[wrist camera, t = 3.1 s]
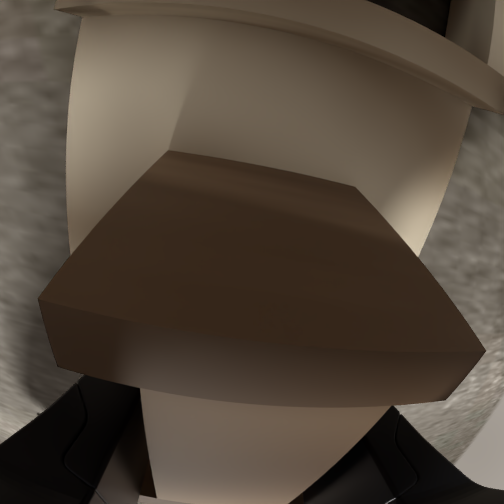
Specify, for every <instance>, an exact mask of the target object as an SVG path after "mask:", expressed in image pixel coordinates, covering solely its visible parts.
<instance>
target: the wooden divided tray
mask: <svg viewBox="0 0 504 504" xmlns="http://www.w3.org/2000/svg"><path fill="white" fill-rule="evenodd" d="M54 10H58V11H62V12H66V13H69V14H73V15H76V16H80V17H82V22H81V27H80V32H79V37H78V42H77V48H76V53H75V60H74V66H73V73H72V81H71V90H70V99H69V111H68V125H67V145H66V199H67V220H68V234H69V246H70V257H69V258H68V259H67V261H66V262H65V263H64V264H63V266H62V267H61V268H60V270H59V271H58V272H57V273H56V275H55V276H54V277H53V279H52V280H51V281H50V283H49V284H48V285H47V287H46V288H45V289H44V291H43V292H42V294H41V295H40V296H39V298H38V302H39V306H40V310H41V314H42V317H43V321H44V325H45V328H46V332H47V335H48V338H49V342H50V345H51V348H52V351H53V354H54V357H55V360H56V363H57V366H58V367H60V368H64V369H67V370H70V371H74V372H77V373H81V374H84V375H88V376H92V377H96V378H99V379H103V380H107V381H111V382H116V383H120V384H124V385H129V386H133V387H138V388H140V394H141V403H142V411H143V419H144V426H145V433H146V440H147V447H148V453H149V461H148V465H147V468H146V472H145V476H144V480H143V484H142V488H141V492H140V496H139V500H138V503H143V504H304V500H303V491H305V490H306V489H307V488H308V487H309V486H311V485H312V484H313V483H314V482H315V481H317V480H318V479H319V478H320V477H321V476H322V475H323V474H325V473H326V472H327V471H328V470H329V469H330V468H331V467H332V466H333V465H335V464H336V463H337V462H338V461H339V460H340V459H341V458H342V457H343V456H344V455H345V454H346V453H347V452H348V451H349V450H350V449H351V448H352V447H353V446H354V445H355V444H356V443H357V442H358V441H359V440H360V439H361V438H362V437H363V436H364V435H365V434H366V433H367V432H368V431H369V430H370V429H371V428H372V427H373V426H374V425H375V423H376V422H377V421H378V420H379V419H380V418H381V417H382V416H383V415H384V414H385V412H386V411H387V410H388V409H389V408H390V407H391V406H394V405H406V404H417V403H427V402H435V401H443V400H446V399H447V398H448V397H449V396H450V395H451V394H452V392H453V391H454V390H455V389H456V388H457V387H458V386H459V384H460V383H461V382H462V381H463V380H464V379H465V377H466V376H467V375H468V374H469V372H470V371H471V370H472V369H473V368H474V366H475V365H476V364H477V362H478V361H479V360H480V359H481V357H482V356H483V355H484V353H485V352H486V350H485V348H484V347H483V345H482V344H481V342H480V341H479V339H478V338H477V336H476V335H475V333H474V332H473V330H472V329H471V327H470V326H469V324H468V323H467V321H466V320H465V319H464V317H463V316H462V314H461V313H460V312H459V310H458V309H457V307H456V306H455V305H454V303H453V302H452V301H451V299H450V298H449V296H448V295H447V294H446V292H445V291H444V290H443V288H442V287H441V286H440V285H439V283H438V282H437V281H436V279H435V278H434V277H433V275H432V274H431V273H430V272H429V270H428V269H427V268H426V267H425V265H424V264H423V263H422V262H421V260H420V259H419V258H418V256H419V254H420V252H421V249H422V247H423V245H424V243H425V240H426V238H427V236H428V234H429V231H430V229H431V226H432V224H433V222H434V219H435V217H436V214H437V212H438V209H439V207H440V204H441V202H442V199H443V196H444V194H445V191H446V188H447V186H448V183H449V180H450V177H451V174H452V171H453V169H454V166H455V163H456V160H457V156H458V153H459V150H460V147H461V144H462V140H463V137H464V134H465V130H466V127H467V123H468V119H469V116H470V112H471V108H472V106H473V107H477V108H480V109H484V110H488V111H492V112H495V113H499V114H502V115H504V0H451V3H450V10H449V17H448V23H447V29H446V35H445V37H443V36H441V35H439V34H437V33H436V32H434V31H432V30H430V29H428V28H426V27H424V26H422V25H420V24H419V23H417V22H415V21H412V20H410V19H408V18H406V17H404V16H402V15H400V14H398V13H395V12H393V11H391V10H389V9H386V8H384V7H382V6H379V5H377V4H374V3H372V2H369V1H367V0H56V2H55V6H54Z"/></svg>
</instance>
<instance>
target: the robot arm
mask: <svg viewBox="0 0 504 504" xmlns="http://www.w3.org/2000/svg"><path fill="white" fill-rule="evenodd" d="M77 383H78V384H77ZM77 383H75V384H74V385H73V386H72V387H71V388H70V389H69V390H68V391H66V392H65V393H64V394H63V395H62V396H61V397H60V398H59V399H58V400H57V401H55V402H54V403H53V404H52V405H51V406H50V407H49V408H47V409H46V410H45V411H44V412H42V413H41V414H40V415H39V416H37V417H36V418H35V419H34V420H32V421H31V422H30V423H28V424H27V425H26V426H24V427H23V428H21V429H20V430H19V431H17V432H16V433H15V434H13V435H12V436H11V437H9V438H8V439H7V440H5V441H4V442H3V443H1V444H0V504H138V500H139V496H140V492H141V488H142V484H143V480H144V476H145V472H146V468H147V465H148V461H149V453H148V447H147V440H146V433H145V426H144V419H143V411H142V403H141V394H140V388H138V387H133V386H129V385H124V384H120V383H116V382H111V381H107V380H103V379H99V378H96V377H92V376H88V375H83V376H82V377H81V378H80V379H79V380H78V381H77ZM303 500H304V504H504V490H499V489H492V488H487V487H484V486H481V485H479V484H477V483H475V482H473V481H472V480H470V479H469V478H468V477H466V476H465V475H464V474H463V473H462V472H461V471H459V469H457V468H456V467H455V466H454V465H453V464H452V463H451V462H450V461H448V460H447V459H446V458H445V457H444V456H443V455H442V454H441V453H439V452H438V451H437V450H436V449H435V448H434V447H433V446H432V445H431V444H430V443H429V442H428V441H427V440H426V439H424V438H423V437H422V436H421V434H420V433H419V432H418V431H417V430H416V429H415V428H414V427H413V426H412V425H411V424H410V423H409V422H408V421H407V420H406V419H405V417H404V416H403V415H402V414H400V412H399V411H398V410H397V409H396V408H395V407H394V406H391V407H390V408H389V409H388V410H387V411H386V412H385V414H384V415H383V416H382V417H381V418H380V419H379V420H378V421H377V422H376V423H375V425H374V426H373V427H372V428H371V429H370V430H369V431H368V432H367V433H366V434H365V435H364V436H363V437H362V438H361V439H360V440H359V441H358V442H357V443H356V444H355V445H354V446H353V447H352V448H351V449H350V450H349V451H348V452H347V453H346V454H345V455H344V456H343V457H342V458H341V459H340V460H339V461H338V462H337V463H336V464H335V465H333V466H332V467H331V468H330V469H329V470H328V471H327V472H326V473H325V474H323V475H322V476H321V477H320V478H319V479H318V480H317V481H315V482H314V483H313V484H312V485H311V486H309V487H308V488H307V489H306V490H305V491H303Z"/></svg>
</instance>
